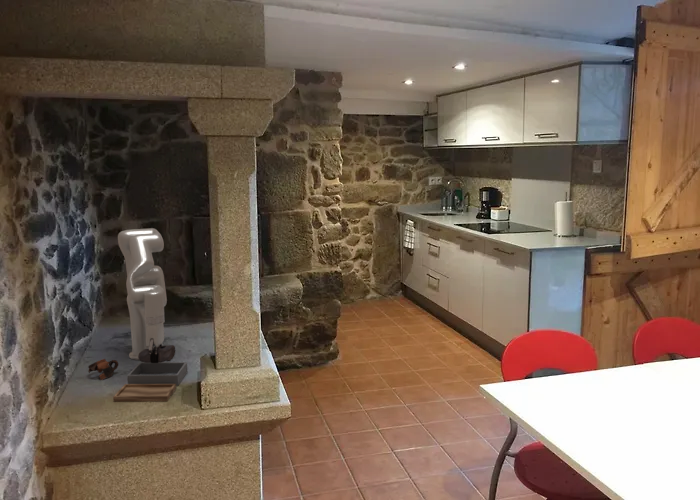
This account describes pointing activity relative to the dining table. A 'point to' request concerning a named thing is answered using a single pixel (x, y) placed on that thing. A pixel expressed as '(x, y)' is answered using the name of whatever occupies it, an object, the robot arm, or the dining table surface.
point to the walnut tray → (144, 392)
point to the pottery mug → (103, 368)
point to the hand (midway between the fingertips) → (157, 359)
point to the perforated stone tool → (163, 354)
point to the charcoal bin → (161, 367)
